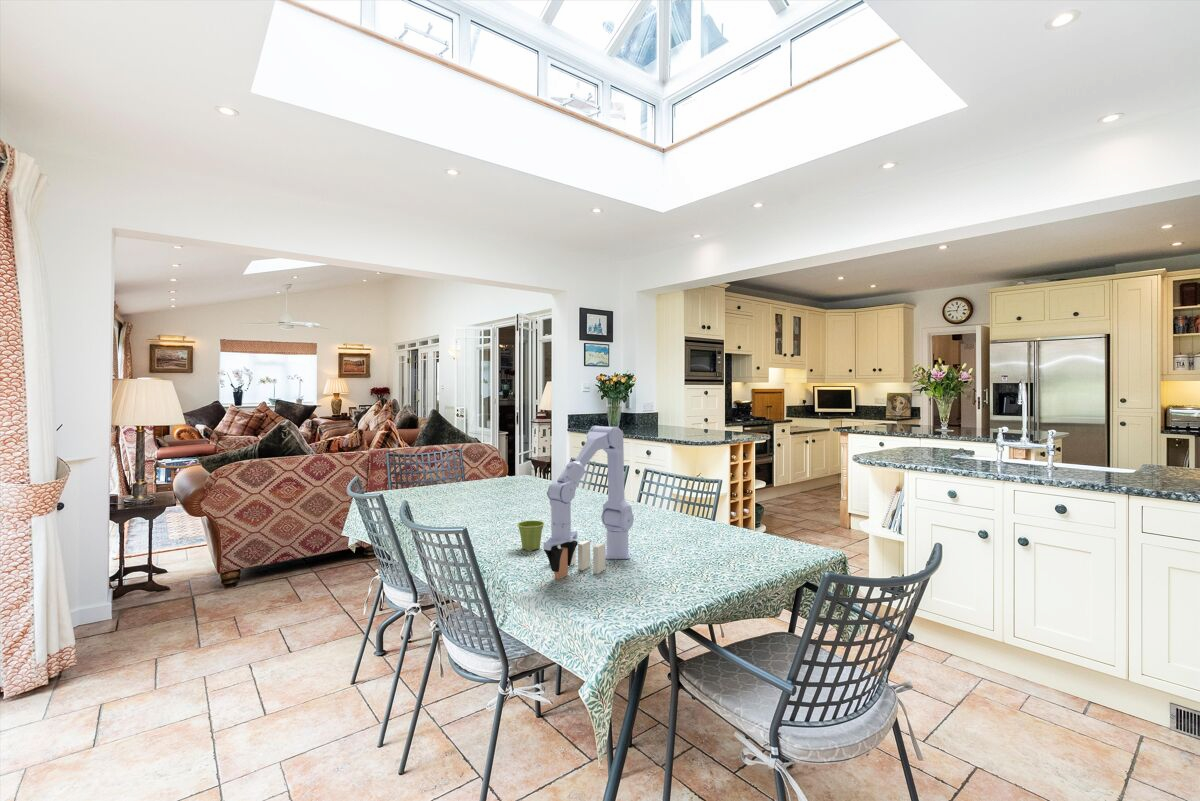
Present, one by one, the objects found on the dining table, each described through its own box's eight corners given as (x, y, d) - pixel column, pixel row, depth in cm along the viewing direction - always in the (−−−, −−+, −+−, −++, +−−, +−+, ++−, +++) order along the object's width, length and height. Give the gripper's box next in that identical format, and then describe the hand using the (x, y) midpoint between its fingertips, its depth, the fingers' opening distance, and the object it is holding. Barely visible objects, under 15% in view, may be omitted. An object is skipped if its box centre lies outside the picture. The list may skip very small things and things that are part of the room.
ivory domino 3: (593, 572, 162) (593, 546, 162) (600, 568, 166) (600, 542, 166) (597, 573, 161) (597, 547, 161) (605, 569, 165) (605, 543, 165)
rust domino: (554, 578, 158) (554, 551, 158) (563, 573, 162) (563, 547, 161) (558, 579, 157) (558, 551, 157) (567, 574, 161) (567, 548, 161)
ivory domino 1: (563, 566, 168) (563, 541, 168) (571, 562, 172) (571, 537, 172) (567, 567, 167) (567, 542, 167) (575, 563, 171) (575, 538, 171)
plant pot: (515, 552, 183) (514, 526, 183) (520, 544, 192) (519, 520, 192) (542, 552, 183) (542, 527, 182) (546, 544, 192) (546, 520, 192)
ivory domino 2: (578, 569, 165) (577, 543, 165) (585, 565, 169) (585, 540, 169) (582, 570, 164) (582, 544, 164) (590, 566, 168) (590, 541, 168)
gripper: (557, 529, 151) (558, 578, 151) (585, 519, 163) (585, 563, 163) (537, 526, 154) (537, 573, 154) (566, 516, 167) (566, 559, 167)
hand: (561, 568), depth 159 cm, fingers open, 5 cm apart
